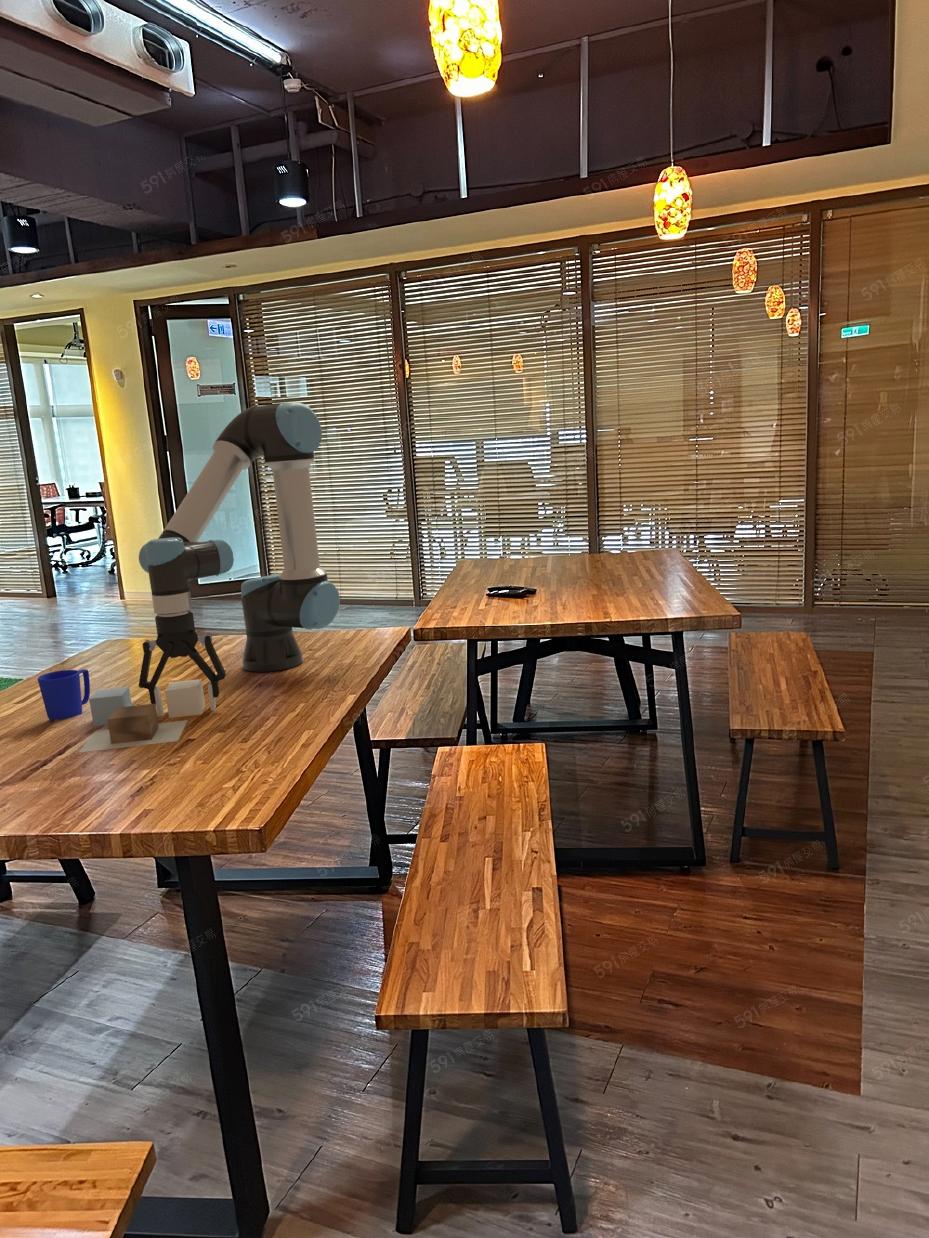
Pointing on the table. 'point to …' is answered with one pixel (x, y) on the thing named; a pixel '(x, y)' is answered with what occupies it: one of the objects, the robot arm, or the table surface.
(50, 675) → the mug
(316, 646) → the table surface
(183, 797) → the table surface
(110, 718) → the base brick
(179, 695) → the brick
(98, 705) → the brick
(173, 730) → the plate
